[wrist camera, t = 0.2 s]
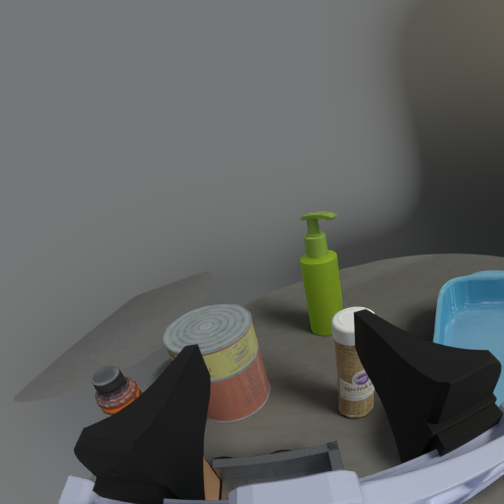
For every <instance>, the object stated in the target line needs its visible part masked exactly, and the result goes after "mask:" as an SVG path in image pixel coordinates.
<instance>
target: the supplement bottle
mask: <svg viewBox="0 0 504 504" xmlns="http://www.w3.org/2000/svg"><path fill="white" fill-rule="evenodd" d="M91 381H92V383H93V385H94V387H95V389H96V390H97V391H96V396H95V397H96V401H97V403H98V405H99V406H100V408H101V409H102V411H103V412H104V413H105V415H106V416H107V417H109V416H111V415H113V414H115V413H116V412H118V411H120V410H121V409H123V408H124V407H125V406H127V405H128V404H130V403H131V402H132V401H134V400H135V399H136V398H138V397H139V396H140V395H141V394H142V392H141V390H140V389H139V387H138V386H137V384H136V382H135V381H134V380H133V379H132V378H130V377H128V376H124V375H123V374H122V373H121V371H120V369H119V368H118V367H117V366H115V365H107V366H104V367H102V368H100V369H98V370H97V371H96V372H95V373H94V374H93V376H92V379H91Z"/></svg>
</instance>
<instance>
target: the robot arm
mask: <svg viewBox="0 0 504 504" xmlns="http://www.w3.org/2000/svg"><path fill="white" fill-rule="evenodd" d="M354 334H355V349H356V351H357V354H358V357H359V359H360V362H361V364H362V366H363V368H364V370H365V372H366V373H367V375H368V377H369V379H370V381H371V383H372V384H373V386H374V388H375V390H376V392H377V394H378V395H379V397H380V399H381V401H382V404H383V406H384V409H385V411H386V414H387V417H388V419H389V422H390V425H391V428H392V431H393V434H394V437H395V441H396V444H397V447H398V451H399V455H400V459H401V463H402V464H400V465H398V466H395V467H392V468H390V469H387V470H384V471H381V472H378V473H375V474H372V475H369V476H366V477H363V478H358V476H357V474H356V473H355V472H353V471H348V470H335V471H328V472H323V473H318V474H313V475H308V476H303V477H298V478H292V479H286V480H279V481H272V482H263V483H254V484H249V485H243V486H239V487H237V488H236V489H234V490H232V491H230V492H229V500H205V489H204V465H203V450H204V432H205V425H206V419H207V413H208V407H209V400H210V389H211V376H210V373H209V371H208V368H207V366H206V364H205V361H204V359H203V356H202V354H201V351H200V348H199V346H198V344H194V345H187V346H185V347H184V348H183V349H182V350H181V351H180V353H179V354H178V355H177V356H176V358H175V359H174V360H173V361H172V363H171V364H170V365H169V366H168V367H167V368H166V370H165V371H164V372H163V373H162V374H161V375H160V376H159V377H158V378H157V380H156V381H155V382H154V383H153V384H152V385H151V386H150V387H149V388H148V389H147V390H146V391H145V392H143V393H142V394H141V395H140V396H139V397H138V398H136V399H135V400H134V401H132V402H131V403H130V404H128V405H127V406H125V407H124V408H123V409H121V410H120V411H118V412H116V413H115V414H113V415H111V416H109V417H108V418H106V419H104V420H102V421H100V422H97V423H95V424H93V425H91V426H88V427H86V428H84V429H83V431H82V433H81V435H80V437H79V439H78V441H77V443H76V446H75V448H74V453H75V455H76V457H77V458H78V460H79V461H80V462H81V463H82V464H83V465H84V466H85V467H86V468H87V469H89V471H91V472H92V473H93V474H94V475H95V476H96V477H97V479H96V481H95V482H93V481H91V480H88V479H85V478H81V477H77V476H73V475H70V476H69V477H68V480H67V483H66V485H65V488H64V490H63V493H62V495H61V498H60V500H59V503H58V504H462V503H463V502H465V501H467V500H468V499H470V498H471V497H473V496H474V495H476V494H477V493H479V492H480V491H482V490H483V489H484V488H486V487H487V486H489V485H490V484H491V483H493V482H494V481H496V480H497V479H498V478H500V477H501V476H502V475H504V402H503V403H502V404H501V405H500V406H499V407H498V406H497V405H496V404H495V402H496V400H497V398H496V396H495V395H494V394H493V392H494V389H495V387H496V385H497V382H498V380H499V378H500V374H501V368H502V365H501V363H500V361H499V360H498V359H497V358H496V357H495V356H494V355H493V354H492V353H491V352H490V351H489V350H475V349H463V348H456V347H451V346H446V345H442V344H438V343H434V342H431V341H428V340H425V339H423V338H420V337H417V336H415V335H412V334H410V333H408V332H406V331H404V330H402V329H400V328H398V327H396V326H394V325H392V324H391V323H389V322H387V321H385V320H384V319H382V318H380V317H379V316H377V315H375V314H374V313H372V312H370V311H369V310H367V309H364V310H360V311H356V312H354Z"/></svg>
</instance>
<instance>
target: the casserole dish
mask: <svg viewBox="0 0 504 504" xmlns="http://www.w3.org/2000/svg"><path fill="white" fill-rule="evenodd" d="M433 342H434V343H438V344H442V345H446V346H451V347H456V348H463V349H475V350H489V351H490V352H491V353H492V354H493V355H494V356H495V357H496V358H497V359H498V360H499V361H500V363H501V365H502V368H501V374H500V378H499V380H498V382H497V385H496V387H495V389H494V392H493V394H494V395H495V396H496V398H497V400H496V402H495V404H496V405H497V406H498V407H499V406H500V405H501V404H502V403H503V402H504V271H481V272H477V273H474V274H472V275H469V276H462V277H457V278H454V279H451V280H449V281H448V282H446V283H445V284H444V285H443V287H442V288H441V290H440V292H439V295H438V299H437V306H436V316H435V327H434V337H433Z"/></svg>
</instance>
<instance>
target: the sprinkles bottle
mask: <svg viewBox="0 0 504 504" xmlns="http://www.w3.org/2000/svg"><path fill="white" fill-rule="evenodd" d="M364 309H367V310H369V311H370V312H372V313H374V312H373V311H372V310H370V309H368V308H364V307H350V308H346V309H343V310H341V311H339V312H338V313H336V314H335V315H334V317H333V318H332V336H333V338H334V341H335V350H336V358H335V360H336V374H337V388H338V392H339V404H338V408H339V411H340V413H341V414H342V415H344V416H346V417H349V418H360V417H363V416H365V415H367V414H368V413H369V412H370V411H371V410H372V409H373V406H374V400H373V399H374V389H375V388H374V386H373V384H372V383H371V381H370V379H369V377H368V375H367V373H366V372H365V370H364V368H363V366H362V364H361V362H360V359H359V357H358V354H357V351H356V349H355V334H354V312H356V311H360V310H364ZM374 314H375V313H374Z"/></svg>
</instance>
